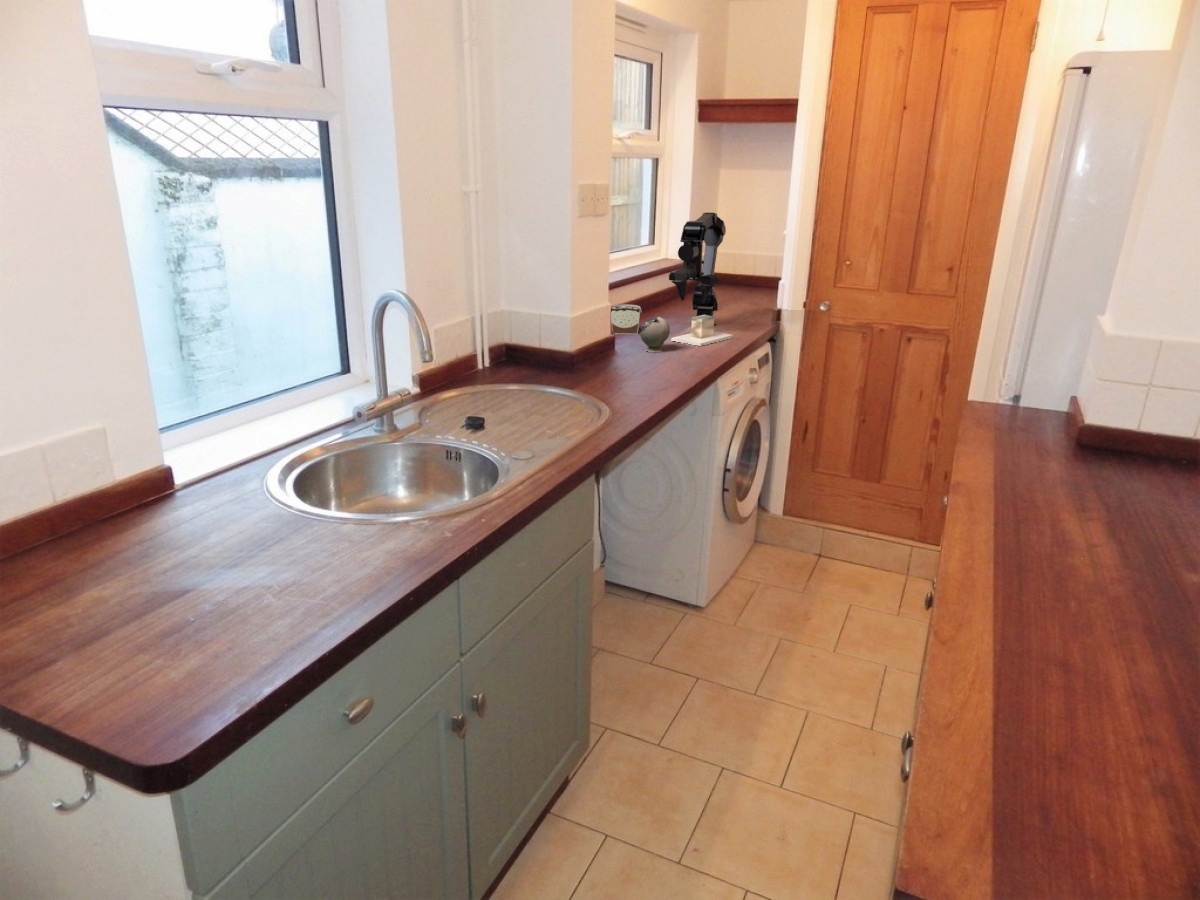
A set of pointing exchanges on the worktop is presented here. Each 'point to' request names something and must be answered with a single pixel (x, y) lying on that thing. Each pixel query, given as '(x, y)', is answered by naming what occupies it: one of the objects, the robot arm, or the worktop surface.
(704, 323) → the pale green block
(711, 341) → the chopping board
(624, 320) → the food container
